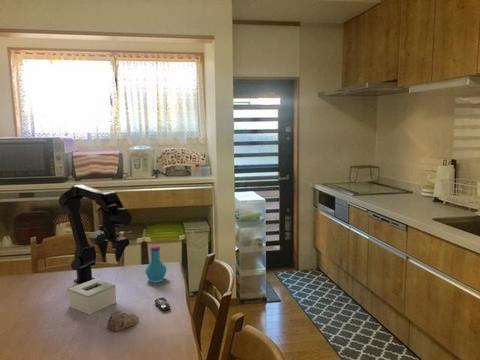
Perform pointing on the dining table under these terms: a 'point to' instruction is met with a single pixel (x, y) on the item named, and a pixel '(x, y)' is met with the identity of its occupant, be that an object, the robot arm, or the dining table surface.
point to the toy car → (162, 303)
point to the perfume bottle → (155, 266)
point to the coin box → (92, 296)
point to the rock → (121, 320)
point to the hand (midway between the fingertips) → (110, 259)
